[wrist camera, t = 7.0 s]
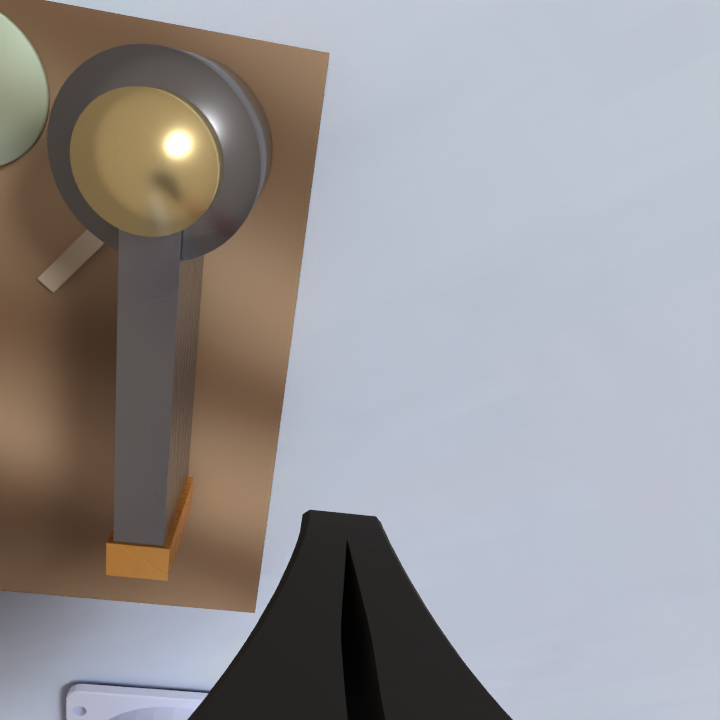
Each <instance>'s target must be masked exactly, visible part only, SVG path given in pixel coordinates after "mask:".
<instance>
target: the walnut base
mask: <svg viewBox="0 0 720 720" xmlns="http://www.w3.org/2000/svg"><path fill="white" fill-rule="evenodd" d="M128 44H153V45H161V46H166V47H170V48H175V49H179V50H184V51H188V52H193V53H197V54H201V55H204V56H207V57H209V58H212V59H214V60H216V61H218V62H220V63H222V64H224V65H225V66H227V67H228V68H230V69H231V70H232V71H234V72H235V73H236V74H238V75H239V76H240V77H241V78H242V79H243V80H244V81H245V82H246V83H247V85H248V86H249V87H250V88H251V89H252V91H253V92H254V93H255V95H256V97H257V98H258V100H259V101H260V103H261V105H262V107H263V109H264V111H265V113H266V116H267V119H268V122H269V125H270V130H271V135H272V144H273V157H272V165H271V171H270V174H269V177H268V180H267V183H266V185H265V187H264V189H263V191H262V193H261V195H260V197H259V198H258V200H257V202H256V203H255V205H254V207H253V208H252V210H251V212H250V213H249V215H248V217H247V218H246V220H245V221H244V223H243V224H242V226H241V227H240V228H239V229H238V231H237V232H236V233H235V234H234V235H233V236H232V237H231V238H230V239H229V240H227V241H226V242H225V243H224V244H222V245H221V246H219V247H218V248H216V249H215V250H213V251H211V252H209V253H207V254H205V255H204V263H203V277H202V291H201V305H200V319H199V333H198V347H197V361H196V375H195V389H194V403H193V417H192V431H191V445H190V459H189V473H188V477H194V481H193V494H192V506H191V509H190V512H189V515H188V518H187V522H186V525H185V528H184V531H183V534H182V537H181V540H180V543H179V547H178V550H177V553H176V556H175V559H174V562H173V565H172V568H171V572H170V575H169V578H168V581H164V580H153V579H143V578H132V577H121V576H110V575H106V543H107V541H108V539H109V536H110V534H111V532H112V530H113V528H114V478H115V421H116V365H117V308H118V250H116V249H114V248H112V247H110V246H109V245H107V244H106V243H104V242H102V241H101V240H100V239H98V238H97V237H96V236H94V235H93V234H92V233H91V232H89V231H88V230H87V229H86V228H85V227H84V226H83V225H82V224H81V223H80V222H79V220H78V219H77V218H76V217H75V215H74V214H73V213H72V212H71V211H70V209H69V207H68V206H67V204H66V203H65V201H64V200H63V198H62V196H61V194H60V192H59V190H58V188H57V186H56V183H55V180H54V177H53V174H52V172H51V167H50V163H49V158H48V149H47V128H48V122H49V117H50V112H51V109H52V106H53V103H54V100H55V98H56V96H57V94H58V92H59V90H60V88H61V87H62V85H63V84H64V83H65V81H66V80H67V78H68V77H69V76H70V75H71V74H72V73H73V72H74V71H75V70H76V69H77V67H78V66H80V65H81V64H82V63H84V62H85V61H86V60H88V59H89V58H91V57H93V56H94V55H96V54H98V53H100V52H102V51H105V50H108V49H111V48H113V47H117V46H122V45H128ZM328 60H329V53H325V52H320V51H314V50H309V49H304V48H298V47H293V46H288V45H282V44H277V43H271V42H266V41H261V40H255V39H250V38H245V37H239V36H234V35H228V34H223V33H218V32H212V31H207V30H202V29H196V28H191V27H185V26H180V25H175V24H169V23H164V22H159V21H153V20H148V19H142V18H137V17H132V16H126V15H121V14H116V13H110V12H105V11H99V10H94V9H89V8H83V7H78V6H73V5H67V4H62V3H57V2H51V1H46V0H0V590H2V591H14V592H25V593H36V594H48V595H59V596H70V597H81V598H93V599H104V600H115V601H126V602H138V603H149V604H160V605H171V606H183V607H194V608H205V609H217V610H228V611H239V612H250V613H255V608H256V600H257V593H258V586H259V578H260V571H261V563H262V556H263V548H264V541H265V533H266V526H267V518H268V511H269V503H270V496H271V488H272V481H273V473H274V466H275V458H276V451H277V443H278V436H279V428H280V421H281V413H282V406H283V398H284V391H285V383H286V376H287V368H288V360H289V353H290V345H291V338H292V330H293V323H294V315H295V308H296V300H297V293H298V285H299V278H300V270H301V263H302V255H303V248H304V240H305V233H306V225H307V218H308V210H309V203H310V195H311V188H312V180H313V173H314V165H315V158H316V150H317V143H318V135H319V128H320V120H321V113H322V105H323V98H324V90H325V82H326V75H327V67H328Z"/></svg>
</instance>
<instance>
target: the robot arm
mask: <svg viewBox="0 0 720 720" xmlns="http://www.w3.org/2000/svg"><path fill="white" fill-rule="evenodd" d="M66 720H512V719H511V718H510V716H509V715H508V714H507V713H506V712H505V711H504V710H503V709H502V708H501V707H500V705H499V704H498V703H497V702H496V701H495V700H494V698H493V697H492V696H491V695H490V694H489V693H488V692H487V690H486V689H485V688H484V687H483V685H482V684H481V683H480V682H479V680H478V679H477V678H476V677H475V675H474V674H473V673H472V672H471V670H470V669H469V668H468V667H467V665H466V664H465V663H464V661H463V660H462V659H461V657H460V656H459V655H458V653H457V652H456V650H455V649H454V648H453V646H452V645H451V643H450V642H449V641H448V639H447V638H446V636H445V635H444V633H443V632H442V630H441V629H440V627H439V626H438V625H437V623H436V622H435V620H434V618H433V617H432V615H431V614H430V612H429V611H428V609H427V608H426V606H425V604H424V603H423V601H422V599H421V598H420V596H419V594H418V593H417V591H416V589H415V588H414V586H413V584H412V583H411V581H410V579H409V577H408V576H407V574H406V572H405V570H404V568H403V567H402V565H401V563H400V561H399V559H398V557H397V555H396V553H395V551H394V550H393V548H392V546H391V544H390V542H389V539H388V537H387V535H386V533H385V531H384V529H383V527H382V524H381V522H380V521H379V520H378V519H377V517H375V516H365V515H356V514H346V513H336V512H326V511H317V510H309V511H307V512H306V513H304V514H303V516H302V523H301V529H300V534H299V537H298V540H297V543H296V546H295V549H294V551H293V554H292V557H291V559H290V561H289V563H288V566H287V568H286V570H285V572H284V574H283V576H282V578H281V581H280V583H279V585H278V587H277V589H276V591H275V593H274V595H273V596H272V598H271V600H270V602H269V603H268V605H267V607H266V609H265V610H264V612H263V614H262V616H261V617H260V619H259V621H258V623H257V624H256V626H255V628H254V629H253V631H252V632H251V634H250V636H249V637H248V639H247V640H246V642H245V643H244V645H243V646H242V648H241V649H240V651H239V652H238V654H237V655H236V657H235V658H234V660H233V661H232V662H231V664H230V665H229V667H228V668H227V670H226V671H225V672H224V674H223V675H222V676H221V678H220V679H219V680H218V681H217V683H216V684H215V685H214V687H213V688H212V689H211V691H210V692H209V693H201V692H187V691H174V690H160V689H147V688H134V687H120V686H107V685H93V684H76V685H74V686H72V687H71V688H70V689H69V692H68V694H67V697H66Z"/></svg>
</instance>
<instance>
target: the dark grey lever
mask: <svg viewBox="0 0 720 720" xmlns="http://www.w3.org/2000/svg"><path fill="white" fill-rule="evenodd" d="M47 149H48V158H49V163H50V167H51V172H52V174H53V177H54V180H55V183H56V186H57V188H58V190H59V192H60V194H61V196H62V198H63V200H64V201H65V203H66V204H67V206H68V207H69V209H70V211H71V212H72V213H73V214H74V215H75V217H76V218H77V219H78V220H79V222H80V223H81V224H82V225H83V226H84V227H85V228H86V229H87V230H88V231H89V232H91V233H92V234H93V235H94V236H96V237H97V238H98V239H100V240H101V241H102V242H104V243H106V244H107V245H109V246H110V247H112V248H114V249H116V250H118V308H117V365H116V421H115V478H114V528H113V530H112V532H111V534H110V536H109V539H108V541H107V543H106V575H110V576H121V577H132V578H143V579H153V580H164V581H168V578H169V575H170V572H171V568H172V565H173V562H174V559H175V556H176V553H177V550H178V547H179V543H180V540H181V537H182V534H183V531H184V528H185V525H186V522H187V518H188V515H189V512H190V509H191V506H192V494H193V481H194V477H188V473H189V459H190V445H191V431H192V417H193V403H194V389H195V375H196V361H197V347H198V333H199V319H200V305H201V291H202V277H203V263H204V255H205V254H207V253H209V252H211V251H213V250H215V249H216V248H218V247H219V246H221V245H222V244H224V243H225V242H226V241H227V240H229V239H230V238H231V237H232V236H233V235H234V234H235V233H236V232H237V231H238V229H239V228H240V227H241V226H242V224H243V223H244V221H245V220H246V218H247V217H248V215H249V213H250V212H251V210H252V208H253V207H254V205H255V203H256V202H257V200H258V198H259V197H260V195H261V193H262V191H263V189H264V187H265V185H266V183H267V180H268V177H269V174H270V171H271V165H272V157H273V144H272V135H271V130H270V125H269V122H268V119H267V116H266V113H265V111H264V109H263V107H262V105H261V103H260V101H259V100H258V98H257V97H256V95H255V93H254V92H253V91H252V89H251V88H250V87H249V86H248V85H247V83H246V82H245V81H244V80H243V79H242V78H241V77H240V76H239V75H238V74H236V73H235V72H234V71H232V70H231V69H230V68H228V67H227V66H225V65H224V64H222V63H220V62H218V61H216V60H214V59H212V58H209V57H207V56H204V55H201V54H197V53H193V52H188V51H184V50H179V49H175V48H170V47H166V46H161V45H153V44H128V45H122V46H117V47H113V48H111V49H108V50H105V51H102V52H100V53H98V54H96V55H94V56H93V57H91V58H89V59H88V60H86V61H85V62H84V63H82V64H81V65H80V66H78V67H77V69H76V70H75V71H74V72H73V73H72V74H71V75H70V76H69V77H68V78H67V80H66V81H65V83H64V84H63V85H62V87H61V88H60V90H59V92H58V94H57V96H56V98H55V100H54V103H53V106H52V109H51V112H50V117H49V122H48V128H47Z"/></svg>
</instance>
